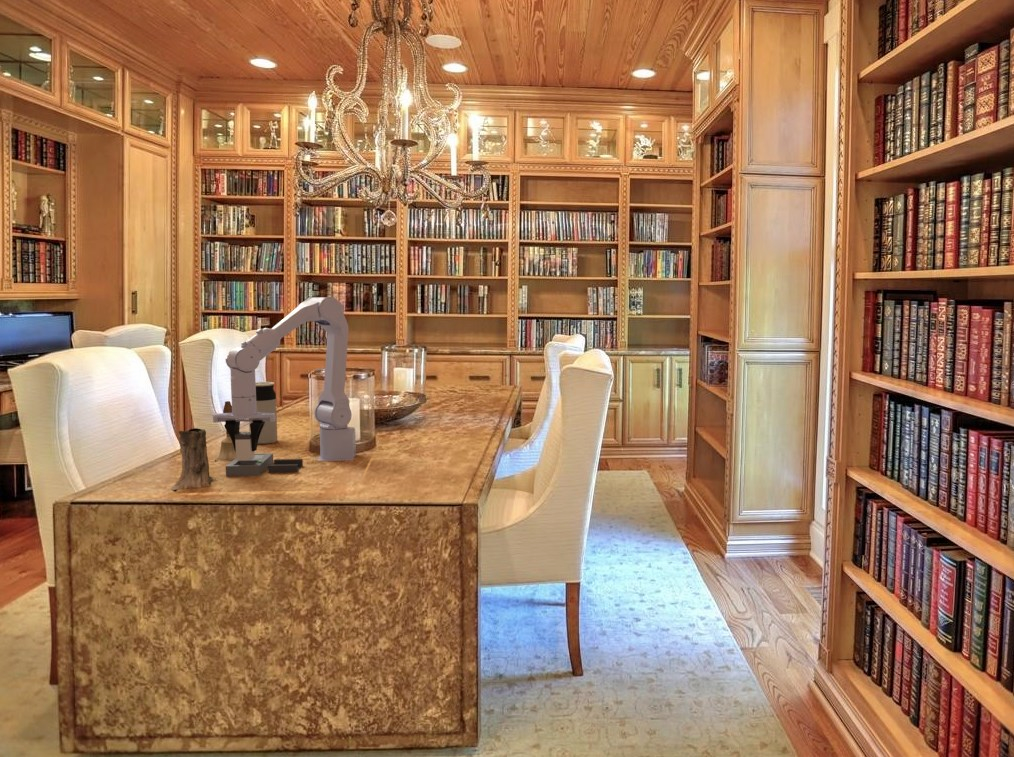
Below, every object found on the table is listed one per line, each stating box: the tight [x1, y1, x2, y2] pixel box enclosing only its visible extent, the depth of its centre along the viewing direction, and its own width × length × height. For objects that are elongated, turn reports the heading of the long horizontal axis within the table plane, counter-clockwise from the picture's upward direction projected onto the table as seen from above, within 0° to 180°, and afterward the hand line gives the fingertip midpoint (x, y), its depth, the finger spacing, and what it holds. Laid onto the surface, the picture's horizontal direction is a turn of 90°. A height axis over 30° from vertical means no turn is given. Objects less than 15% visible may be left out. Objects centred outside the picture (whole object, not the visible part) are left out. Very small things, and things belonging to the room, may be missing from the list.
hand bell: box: [214, 400, 236, 462], centre depth 195 cm, size 8×8×16 cm
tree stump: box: [171, 427, 218, 491], centre depth 168 cm, size 10×10×13 cm
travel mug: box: [248, 381, 278, 445], centre depth 218 cm, size 8×8×18 cm
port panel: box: [225, 452, 274, 477], centre depth 183 cm, size 8×14×3 cm, turn 5°
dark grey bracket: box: [267, 458, 304, 474], centre depth 183 cm, size 7×7×2 cm
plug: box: [235, 431, 255, 461], centre depth 178 cm, size 4×4×6 cm
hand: (245, 450), depth 179 cm, fingers closed on plug, 3 cm apart
